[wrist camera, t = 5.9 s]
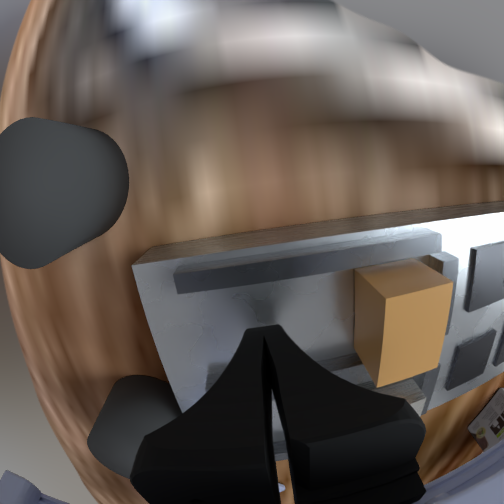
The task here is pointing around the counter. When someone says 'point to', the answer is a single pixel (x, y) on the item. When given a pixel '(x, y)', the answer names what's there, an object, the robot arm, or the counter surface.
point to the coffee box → (489, 423)
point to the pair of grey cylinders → (69, 238)
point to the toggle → (400, 319)
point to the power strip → (326, 298)
